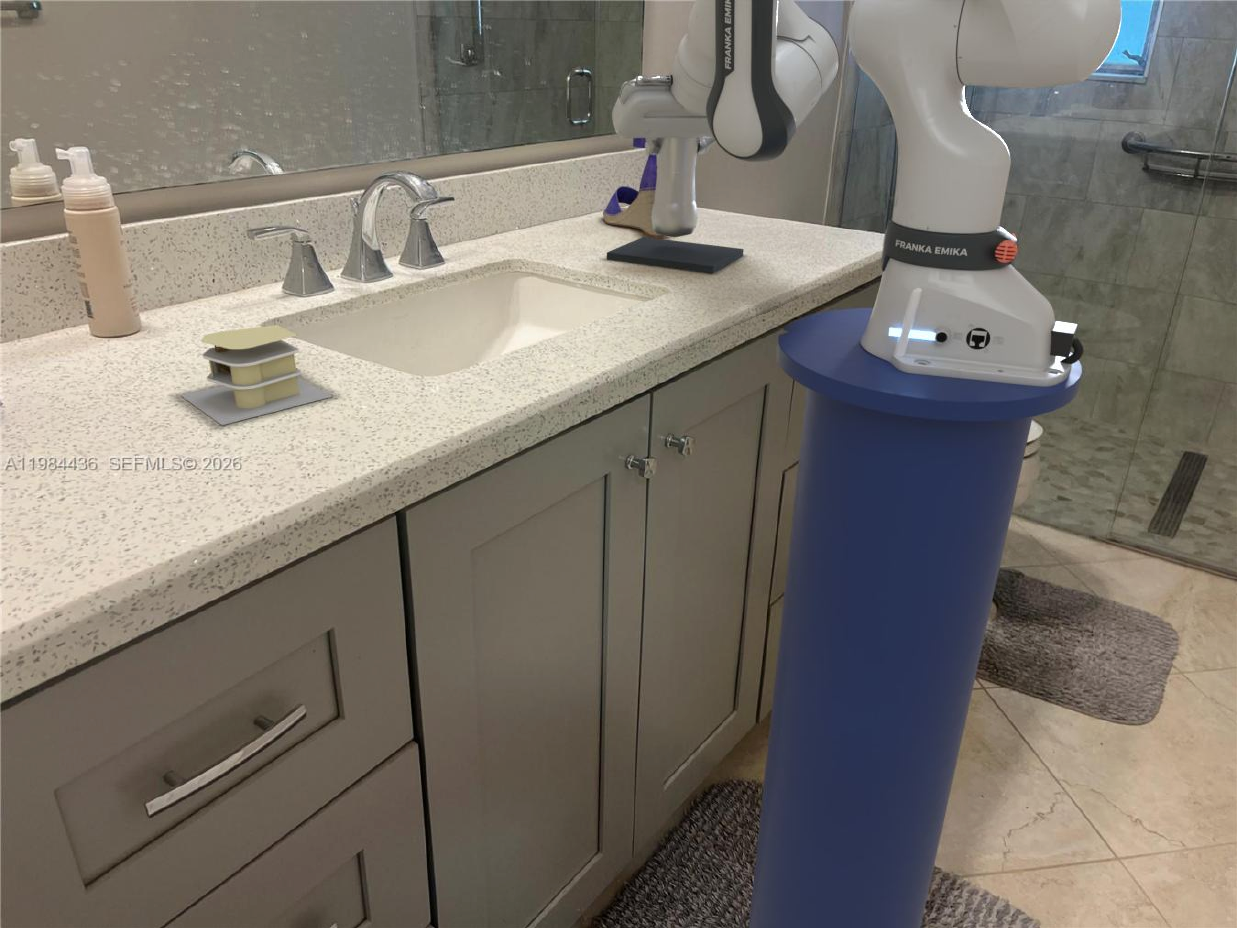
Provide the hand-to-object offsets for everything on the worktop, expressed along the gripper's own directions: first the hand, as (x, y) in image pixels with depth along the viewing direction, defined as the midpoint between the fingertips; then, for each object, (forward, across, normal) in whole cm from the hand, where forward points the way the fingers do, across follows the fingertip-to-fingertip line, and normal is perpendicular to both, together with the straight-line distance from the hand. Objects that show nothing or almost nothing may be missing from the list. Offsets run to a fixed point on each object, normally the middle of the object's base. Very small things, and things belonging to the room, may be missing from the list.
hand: (676, 150), depth 129 cm
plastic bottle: (+8, 0, -9) cm, 12 cm away
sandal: (+25, +1, +4) cm, 26 cm away
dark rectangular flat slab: (+10, 0, -10) cm, 15 cm away
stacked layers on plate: (-19, -54, -41) cm, 70 cm away
